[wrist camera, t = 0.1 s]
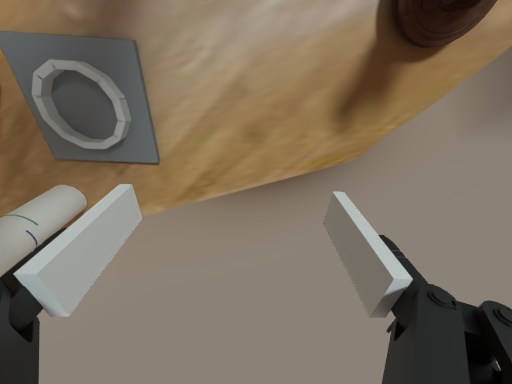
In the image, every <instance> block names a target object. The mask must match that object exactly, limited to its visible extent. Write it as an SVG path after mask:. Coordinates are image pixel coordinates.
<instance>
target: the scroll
mask: <svg viewBox="0 0 512 384" xmlns="http://www.w3.org/2000/svg"><path fill="white" fill-rule="evenodd" d="M496 1H497V0H393V12H394V19H395V23H396V26H397V28H398V31H399V32H400V34H401V35H402V37H403V38H404V39H405V40H406V41H407V42H409V43H410V44H412V45H415V46H418V47H435V46H440V45H444V44H447V43H450V42H452V41H454V40H456V39H458V38H460V37H461V36H463V35H464V34H466V33H467V32H468V31H470V30H471V29H472V28H473V27H474V26H476V25H477V24H478V23H479V22H480V21H481V20H482V19H483V18H484V17H485V15H486V14H487V13H488V12H489V11H490V9H491V8H492V7H493V6H494V4H495V3H496Z"/></svg>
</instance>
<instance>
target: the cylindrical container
mask: <svg viewBox="0 0 512 384" xmlns="http://www.w3.org/2000/svg"><path fill="white" fill-rule="evenodd" d="M86 206H87V200H86V198H85V196H84V195H83V194H82V193H81V192H80V191H79V190H77V189H76V188H74V187H71V186H68V185H57V186H55V187H53V188H52V189H50V190H48V191H46V192H45V193H43V194H41V195H39V196H38V197H36V198H34V199H32V200H31V201H29V202H27V203H26V204H24V205H22V206H20V207H19V208H17V209H15V210H13V211H12V212H10V213H8V214H6V215H5V216H3V217H1V218H0V277H1V276H2V275H3V274H4V273H6V272H7V271H8V270H9V269H11V268H12V267H13V266H14V265H16V264H17V263H18V262H19V261H20V260H22V259H23V258H24V257H25V256H27V255H28V254H29V253H30V252H32V251H33V250H34V249H35V248H36V247H38V246H39V245H41V244H42V243H43V242H44V241H45V240H46V239H48V238H49V237H50V236H51V235H53V234H54V233H56V232H57V231H58V230H59V229H60V228H62V227H63V226H64V225H65V224H67V223H68V222H69V221H70V220H71V219H73V218H74V217H75V216H76V215H78V214H79V213H80V212H81V211H83V210H84V209H85V208H86Z"/></svg>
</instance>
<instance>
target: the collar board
mask: <svg viewBox="0 0 512 384" xmlns="http://www.w3.org/2000/svg"><path fill="white" fill-rule="evenodd" d="M0 47H1V49H2V51H3V53H4V55H5V57H6V59H7V61H8V63H9V65H10V68H11V70H12V72H13V74H14V76H15V78H16V80H17V82H18V84H19V86H20V88H21V90H22V92H23V94H24V96H25V98H26V100H27V102H28V104H29V107H30V109H31V111H32V113H33V115H34V117H35V119H36V121H37V123H38V125H39V127H40V129H41V131H42V133H43V135H44V137H45V139H46V141H47V143H48V145H49V148H50V150H51V152H52V154H53V156H54V158H55V159H69V160H94V161H119V162H144V163H159V162H160V158H159V153H158V148H157V143H156V138H155V133H154V128H153V123H152V118H151V113H150V108H149V103H148V99H147V94H146V89H145V84H144V79H143V74H142V69H141V64H140V59H139V54H138V49H137V44H136V41H134V40H123V39H109V38H95V37H80V36H66V35H52V34H37V33H23V32H9V31H0Z"/></svg>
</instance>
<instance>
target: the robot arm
mask: <svg viewBox="0 0 512 384" xmlns="http://www.w3.org/2000/svg"><path fill="white" fill-rule="evenodd" d="M141 220H142V216H141V213H140V209H139V206H138V203H137V199H136V196H135V192H134V189H133V186H132V184H119V185H118V186H117V187H116V188H114V189H113V190H112V191H111V192H110V193H109V194H107V195H106V196H105V197H104V198H103V199H101V200H100V201H99V202H98V203H97V204H96V205H94V206H93V207H92V208H91V209H90V210H88V211H87V212H86V213H85V214H84V215H82V216H81V217H80V218H79V219H78V220H77V221H75V222H74V223H73V224H72V225H71V226H69V227H68V228H64V229H62V230H60V231H58V232H56V233H54V234H53V235H51V236H50V237H49V238H48V239H46V240H45V241H44V242H43V243H42V245H39V246H38V247H36V248H35V249H34V251H33V252H30V253H29V254H28V255H27V256H25V257H24V258H23V259H22V260H20V261H19V262H18V263H17V264H16V265H14V266H13V267H12V268H11V269H9V270H8V271H7V272H6V273H4V274H3V275H2V276H1V277H0V384H38V380H39V323H40V322H39V320H38V318H37V315H38V314H39V312H41V310H42V309H44V310H45V311H46V312H47V313H48V315H50V316H70V315H71V313H72V312H73V311H74V309H75V308H76V307H77V305H78V304H79V302H80V301H81V300H82V298H83V297H84V296H85V294H86V293H87V292H88V291H89V289H90V288H91V287H92V285H93V284H94V283H95V281H96V280H97V278H98V277H99V276H100V274H101V273H102V272H103V270H104V269H105V268H106V266H107V265H108V264H109V262H110V261H111V260H112V258H113V257H114V256H115V254H116V253H117V252H118V250H119V249H120V248H121V246H122V245H123V244H124V242H125V241H126V240H127V238H128V237H129V236H130V234H131V233H132V232H133V230H134V229H135V228H136V226H137V225H138V224H139V222H140V221H141ZM323 224H324V226H325V228H326V230H327V232H328V234H329V236H330V238H331V240H332V242H333V244H334V246H335V248H336V250H337V252H338V254H339V256H340V258H341V261H342V263H343V265H344V267H345V269H346V271H347V273H348V275H349V277H350V279H351V281H352V283H353V285H354V287H355V289H356V291H357V293H358V295H359V297H360V299H361V301H362V303H363V305H364V307H365V309H366V312H367V314H368V315H369V317H383V318H385V317H386V316H387V315H388V313H389V312H390V310H391V311H392V312H393V314H394V316H395V317H396V319H395V320H394V321H393V322H392V324H391V325H390V326H389V327H388V329H387V332H388V333H389V332H390V331H391V330H392V331H391V336H390V342H389V348H388V353H387V358H386V364H385V369H384V375H383V381H382V384H512V309H510V308H509V307H507V306H505V305H502V304H500V303H498V302H494V301H484V302H483V303H482V304H481V305H480V306H479V307H476V306H472V305H469V304H466V303H462V302H459V301H456V300H455V298H454V297H453V296H452V295H450V294H449V293H448V292H447V291H445V290H443V289H441V288H440V287H438V286H435V285H432V284H428V283H427V281H425V279H424V278H423V277H422V276H421V274H420V273H419V272H418V271H417V270H416V269H415V267H414V266H413V265H412V264H411V263H410V261H409V260H408V259H407V258H405V256H404V254H403V253H402V252H400V250H399V248H398V247H397V246H396V245H395V244H394V243H393V242H392V241H391V240H390V239H388V238H387V237H385V236H384V235H377V233H376V232H375V231H374V230H373V228H372V227H371V226H370V224H369V223H368V222H367V221H366V219H365V218H364V217H363V216H362V214H361V213H360V212H359V211H358V210H357V208H356V207H355V206H354V204H353V203H352V202H351V201H350V199H349V198H348V197H347V196H346V194H345V193H344V192H332V196H331V200H330V203H329V206H328V209H327V213H326V216H325V220H324V223H323ZM496 361H497V362H498V364H499V366H500V369H501V371H500V369H499V368H498V366H497V364H496Z"/></svg>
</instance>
